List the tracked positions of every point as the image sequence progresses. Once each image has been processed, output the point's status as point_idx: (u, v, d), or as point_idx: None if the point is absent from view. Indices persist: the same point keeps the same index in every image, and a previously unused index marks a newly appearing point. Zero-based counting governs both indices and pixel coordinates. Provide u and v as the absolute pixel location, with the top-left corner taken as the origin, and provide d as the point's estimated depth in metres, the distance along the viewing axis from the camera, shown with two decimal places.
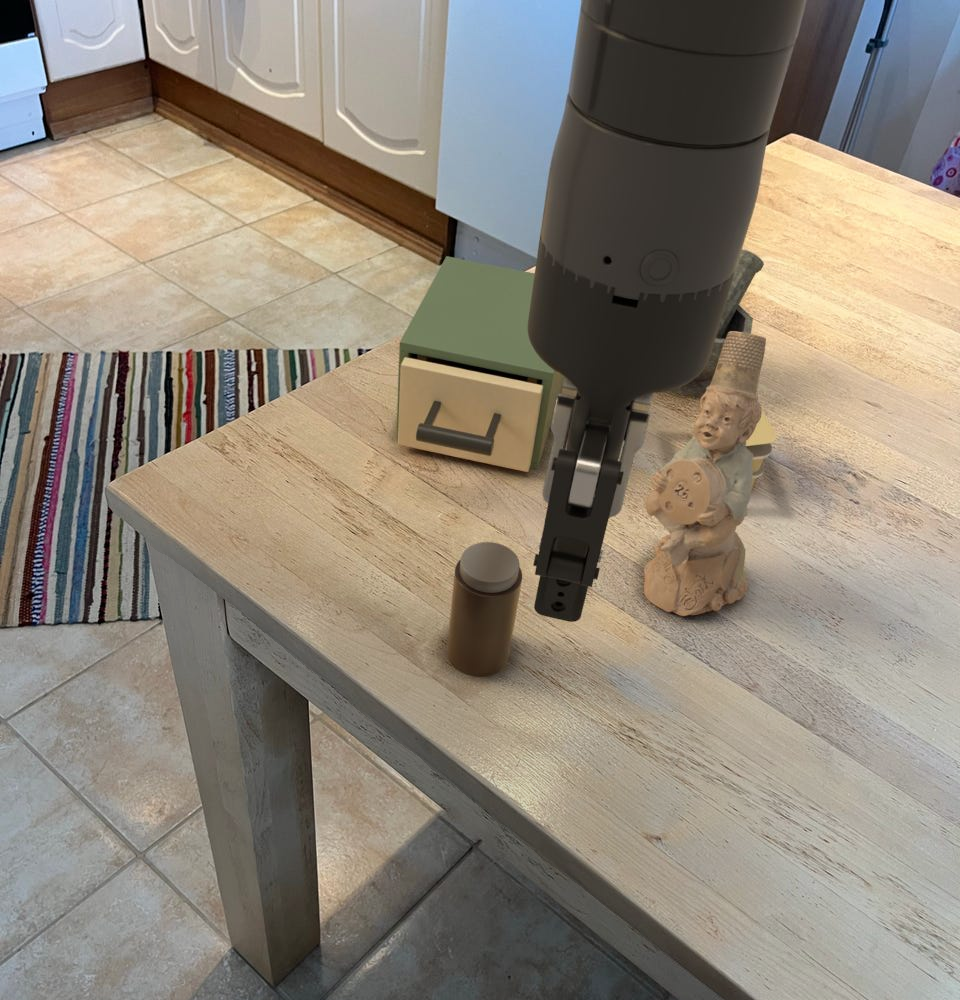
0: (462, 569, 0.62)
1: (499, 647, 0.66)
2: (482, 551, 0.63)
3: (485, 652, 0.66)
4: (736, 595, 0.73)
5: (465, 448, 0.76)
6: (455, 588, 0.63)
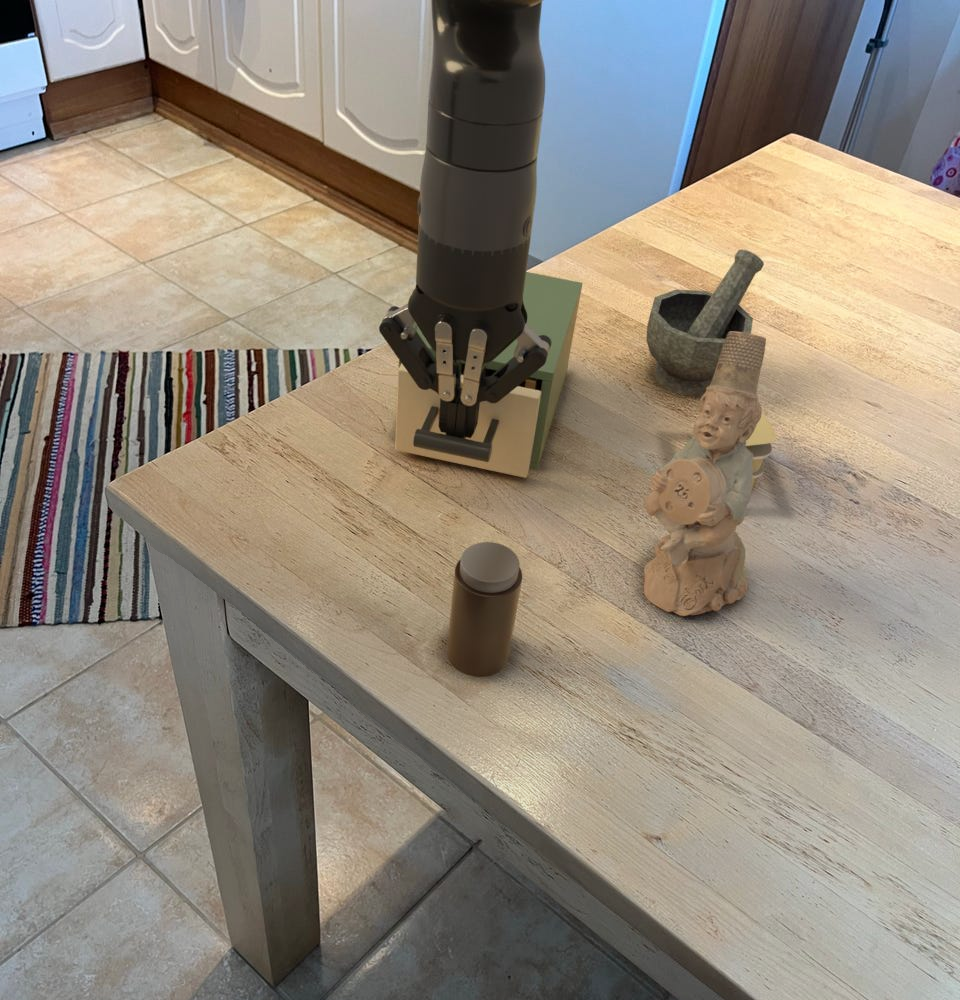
0: (462, 569, 0.62)
1: (499, 647, 0.66)
2: (482, 551, 0.63)
3: (485, 652, 0.66)
4: (736, 595, 0.73)
5: (463, 454, 0.76)
6: (455, 588, 0.63)
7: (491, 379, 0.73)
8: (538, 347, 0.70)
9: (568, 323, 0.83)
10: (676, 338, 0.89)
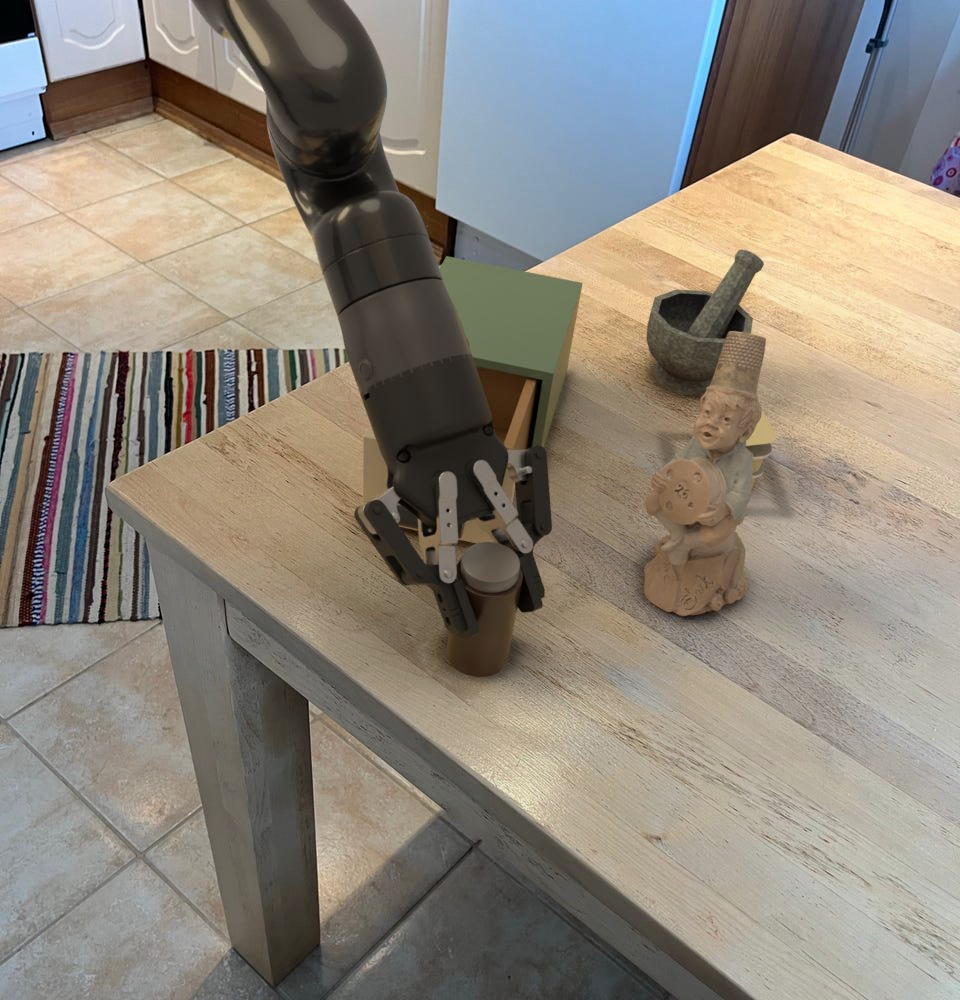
0: (463, 569, 0.62)
1: (499, 647, 0.66)
2: (483, 551, 0.63)
3: (485, 652, 0.66)
4: (736, 595, 0.73)
5: None
6: None
7: (526, 523, 0.66)
8: (527, 450, 0.65)
9: (568, 323, 0.83)
10: (676, 338, 0.89)
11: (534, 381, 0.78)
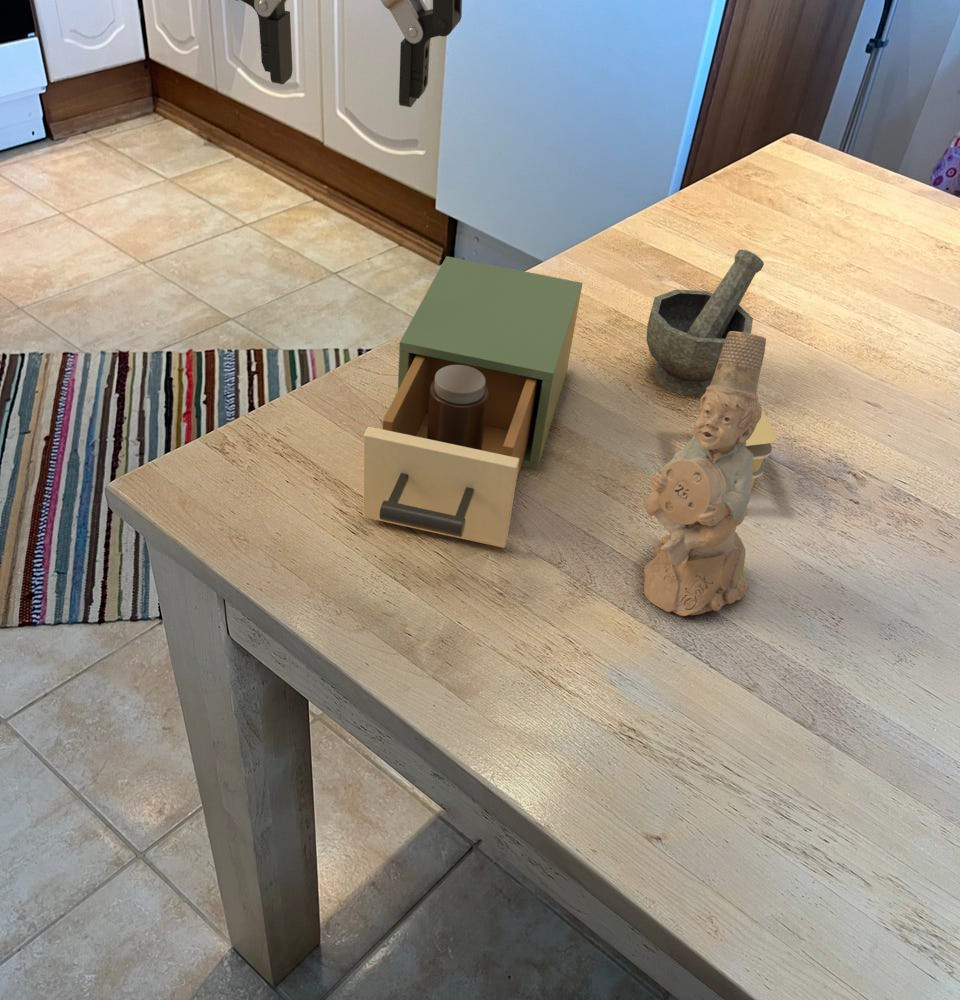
0: (436, 384, 0.73)
1: None
2: (453, 371, 0.74)
3: None
4: (736, 595, 0.73)
5: (433, 529, 0.69)
6: (430, 403, 0.74)
7: None
8: None
9: (568, 323, 0.83)
10: (676, 338, 0.89)
11: (534, 380, 0.78)
